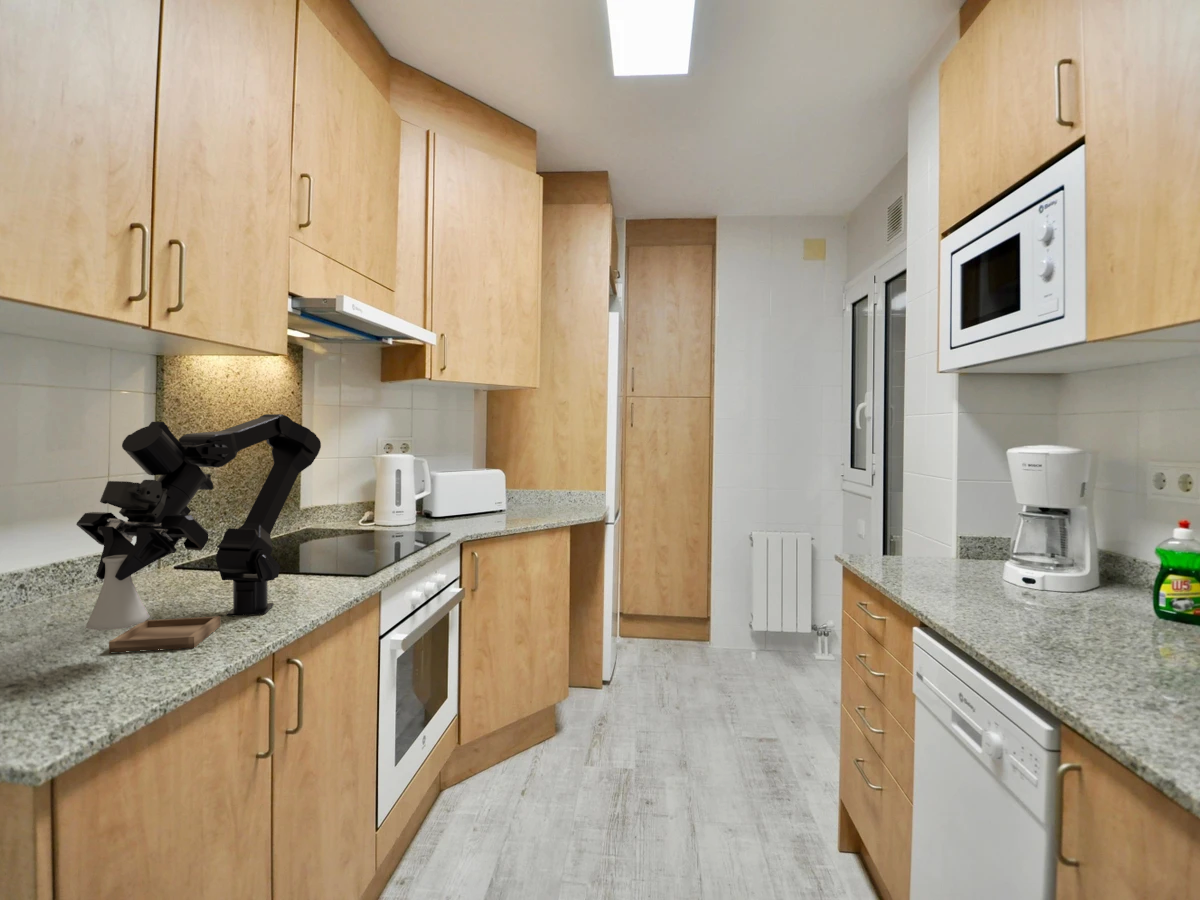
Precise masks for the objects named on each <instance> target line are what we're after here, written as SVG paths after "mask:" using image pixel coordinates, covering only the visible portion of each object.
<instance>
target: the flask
mask: <svg viewBox="0 0 1200 900" xmlns="http://www.w3.org/2000/svg"><path fill="white" fill-rule="evenodd" d="M126 557H127V555H114V556H108V557H105V558H103V562H104V563H105V577H104V579H103V582H102V585H101V589H100V592H99V595H98V597H97V599H96V602H95V605H94V607H93V609H92V612H91V614H90V616H89V618H88V620H87V623H86V625H85V629H89V630H97V631H105V630H117V629H126V628H129V627H132V626H133V627H134V626H136V625H138V624H139V623H143V622H145V621H146V620H149V618H151V616H150V614H149V612H148V609H147V608H146V606H145V604H144V602H143V600H142V599H141V596H140V594H139V591H138V590H137V587H136V586H135V584H134V582H133V580H132V575H130V576H129V577H127V578H125V579H124V580H118V579H117V578H115V575H116V573H117V571H118V570H119V568H120V566H121V565H122V563H123V562H124V560H125V558H126Z"/></svg>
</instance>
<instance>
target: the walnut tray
mask: <svg viewBox="0 0 1200 900" xmlns="http://www.w3.org/2000/svg"><path fill="white" fill-rule="evenodd" d="M221 625H222V624H221V616H219V615H218V616H216V615H215V616H202V617H201V616H200V617H179V618H178V617H177V618H162V619H159V618H157V619H147V620H146V621H145V622H143V623H139V624H136V625H133V627H131V628H129V629H127V630H126V631H124V632H123V633H121V634H119V635H118V636H117V637H114V638H113V639H111V640H110V641H108V654H112V653H111V652H125V653H127V652H126V651H140V650H157V651H161V650H160V649H173V650H182V649H181V648H189V649H195V648H197V647H198V646H199V645H200V644H201V643H203V642H204V641H205V640H206V639H207V638H209V637H210V636H211V635H212V634H213V633H214V632H216V631H217V630H218V629H219V628H221ZM217 628H218V629H217ZM216 629H217V630H216ZM215 630H216V631H215ZM212 632H213V633H212ZM211 633H212V634H211ZM210 634H211V635H210ZM209 635H210V636H209ZM206 637H207V638H206ZM205 638H206V639H205ZM204 639H205V640H204ZM203 640H204V641H203ZM200 642H201V643H200ZM199 643H200V644H199ZM198 644H199V645H198ZM197 645H198V646H197ZM194 647H195V648H194ZM179 648H180V649H179ZM158 649H159V650H158Z"/></svg>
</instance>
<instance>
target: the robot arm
mask: <svg viewBox="0 0 1200 900" xmlns="http://www.w3.org/2000/svg"><path fill="white" fill-rule="evenodd" d="M265 441H266V444H267V445H268V446H270V447H271V448H272V449H271V455H272V459H273V465H272V467H271V469H270V471H269V473H268V475H267V477H266V479H265V480H264V482H263V485H262V487H261V489H260V491H259V492H258V495H257V497H256V498H255V500H254V502H253V505H252V506H251V509H250V510H249V512H248V514H247V516H246V519H245V521H244V523H242V525H241V526H239V527H238V528H235V527H234V528H231V527H228V528H227V530H226V531H225V532H224V535H223V537H222V540H221V541H220V543H219V544H218V545H217V546H216V549H218V550H217V551H216V553H215V563H216V566H217V569H218V571H219V575H220V579H221V580H222V581H232V588H233V589H232V591H233V592H232V596H233V597H232V598H233V599H232V600H233V601H232V603H233V605H232V606H233V607H232V609H230V610H228V612H226V617H232V616H233V617H235V616H254V615H258V616H259V615H265V614H266V613H268V611H269V610H270V609H272V608H273V607H274V603H273V602H268V599H269V598H268V582H269V581H274V580H275V579H277V578H278V577H279V575H280V570H281V565H280V564H279V563H278V562H277V561H276V559H275V558H274V557H273V556H272V552H273V547H274V546H273V543H272V542H273V541H272V537H271V533H272V532H273V531H272V530H273V528H274V527H275V525H276V522H277V521H278V518H279V516H280V513H282V510H283V507H284V506H285V503H286V501H287V499H288V497H289V495H290V493H291V490H292V489H293V486H294V484H295V482H296V480H297V477H298V476H299V474H300V473H301V472H303V471H305V470H306V469H307V468H309V466H311V465H312V464H313V463H314V461H315V459H316V458H317V456H318V455H319V454H320V450H321V447H322V443H321V442H322V441H321V440H320V438H319V437H318V436H317V434H316V433H315V432H313V431H312V430H310V429H309V428H308V427H306V426H304V425H301V424H299V423H297V422H296V421H293V419H291V418H290V417H289V416H287V415H285V414H281V413H280V414H279V413H278V414H277V413H276V414H272V413H270V414H269V413H266V414H263V415H261V416H259V417H258V418H255V419H252V420H248V421H246V422H243V423H240V424H237V425H234V426H232V427H229V428H225V429H223V430H218V431H217V430H215V431H204V432H194V433H193V432H192V433H186V434H183V435H181V436H180V437H179V438H176V436H175V435H174V434H173V433H172V432H171V430H170V428H169V427H168V425H167V424H166V422H164V421H151V422H150V424H148V426H145V427H141V428H139V429H137V430H136V431H134V432H132V433H131V434H128V435H127V436H126V437H125V438H124V439H123V441H122V444H121V447H122V449H123V450H124V451H125V453H126V454H128V456H130V458H131V459H132V460H133V461H134V462H135V463H136V464H137V465H138V466H139V467H140V468H141V469H142V470H143V471H144V472H145V473H146V474H148V475H149V476H159V477H158V479H144V480H142V481H141V482H133V481H132V482H131V481H127V480H126V481H118V480H117V481H116V480H108V481H107V482H106V485H105V488H104V490H103V492H102V495H101V498H100V499H99V502H100V503H101V504H103V505H105V504H108V505H111V506H114V507H115V508H119V509H120V510H119V511H118V513H119V514H120V515H121V516H122V517H124V518H127V520H123V519H121V518H118V517H117V516H116V515H115V514H113V513H112V512H109V511H108V512H106V511H103V512H101V511H92V512H91V511H88V512H84V513H83V515H82V516H81V517H80V518H79V520H78V521H77V522H76V526H77V527H79V529H81V530H82V531H83V532H84V533H86V534H87V535H88V536H89V537H90V538H92V539H93V540H95V542H97V543H98V544H99V545H101V546H103V549H102V554H101V556H100V557H101V558H100V560H99V564H98V568H97V570H96V575H95V576H96V577H97V578H98V579H99V580H104V577H105V563H104V562H103V558H105V557H108V556H114V555H127V557H126V558H125V560H124V562H123V563H122V565H121V566H120V568H119V570H118V571H117V573H116V575H115V578H117V579H118V580H124V579H125V578H127V577H129V576H130V575H131V576H132V575H133V574H135V573H137V572H139V571H140V570H142V569H143V568H146V567H148V566H149V565H151V564H153V563H155V562H157V561H158V560H161V559H163V558H165V557H166V556H168V555H170V554H176V552H177V551H178V550H177V548H176V546H177V544H178V543H179V541H182V540H183V538H186V539H185V540H184V541H183V547H184V548H185V549H186V550H188V551H203V549H204V548H205V546H206V544H207V543H208V541H209V532H208V531H207V530H206V529H205V528H204V527H203V525H202V524H201V523H200V522H199V521H198V520H197V519H196V518H195V517H194V516H193V515H192V514H190V513H191V511H192V510H191V509H190V508H189V507H188V505H189V504H190V503H191V501H192V500H193V498H194V497H195V495H196V494H197V493H198V492H199V491H201V490H203V491H212V490H213V489H214V483H213V481H212V478H211V477H212V475H211V474H210V473H205V471H203V469H202V468H222V467H224V466H226V465H227V464H228V463H230V462H231V461H233V460H235V458H237V455H238V453H239V452H240V451H242V450H244V449H247V448H249V447H252V446H254V445H257V444H259V443H262V442H265ZM134 537H136V538H135V539H136V540H135V543H134V544H133V543H132V541H133V538H134Z"/></svg>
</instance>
